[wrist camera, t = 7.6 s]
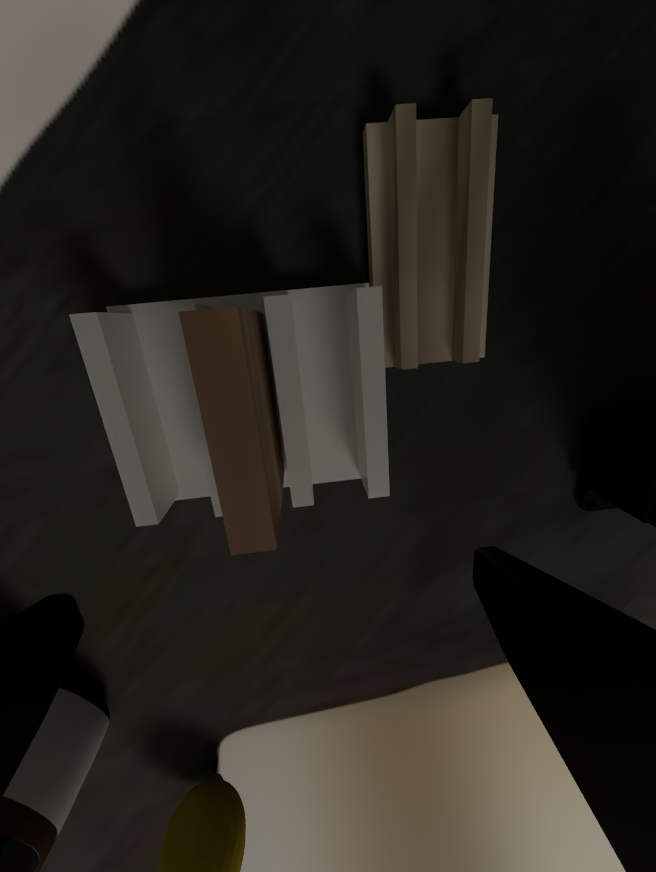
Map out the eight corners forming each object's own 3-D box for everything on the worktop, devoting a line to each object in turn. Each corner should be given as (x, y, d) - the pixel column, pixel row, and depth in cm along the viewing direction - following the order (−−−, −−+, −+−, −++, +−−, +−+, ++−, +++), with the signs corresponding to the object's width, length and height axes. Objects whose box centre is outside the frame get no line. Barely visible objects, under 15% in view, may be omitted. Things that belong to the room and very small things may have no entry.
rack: (365, 284, 17) (383, 274, 13) (375, 470, 20) (391, 503, 16) (115, 307, 16) (62, 303, 13) (166, 494, 19) (136, 534, 16)
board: (262, 312, 16) (237, 306, 9) (284, 468, 19) (276, 549, 12) (228, 315, 16) (178, 312, 9) (255, 471, 19) (231, 555, 12)
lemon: (182, 751, 26) (134, 925, 19) (255, 751, 27) (238, 920, 19) (180, 796, 28) (136, 973, 20) (249, 795, 29) (231, 966, 21)
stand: (488, 125, 15) (515, 96, 13) (476, 355, 18) (497, 359, 16) (362, 133, 15) (371, 106, 13) (373, 366, 18) (382, 371, 16)
